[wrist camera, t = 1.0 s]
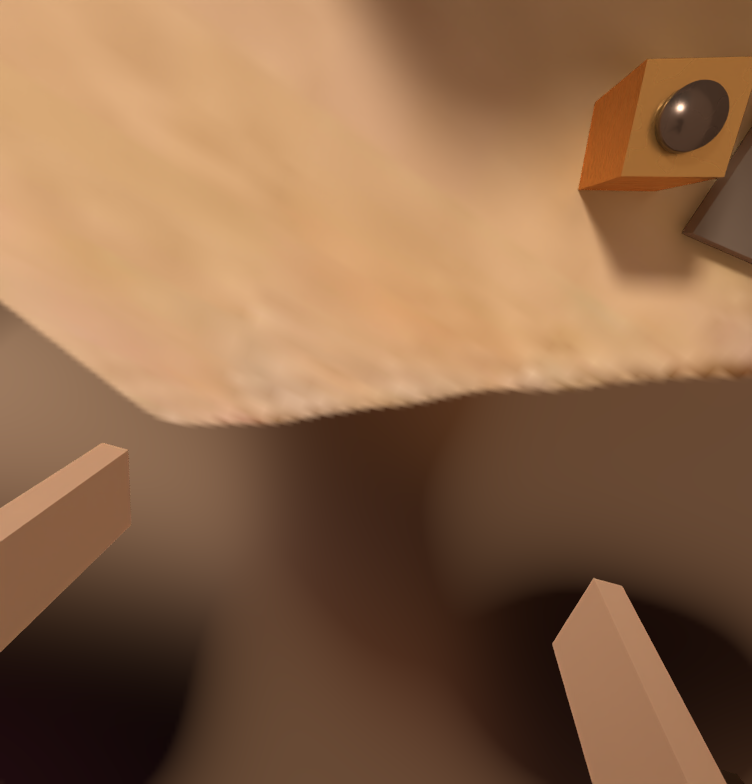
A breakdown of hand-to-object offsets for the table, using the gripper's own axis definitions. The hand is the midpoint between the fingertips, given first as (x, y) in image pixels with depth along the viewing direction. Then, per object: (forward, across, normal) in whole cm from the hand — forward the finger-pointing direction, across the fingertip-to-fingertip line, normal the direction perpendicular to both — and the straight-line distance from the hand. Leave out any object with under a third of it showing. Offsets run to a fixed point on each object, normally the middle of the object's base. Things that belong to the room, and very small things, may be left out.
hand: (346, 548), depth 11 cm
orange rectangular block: (+22, +10, +16) cm, 29 cm away
